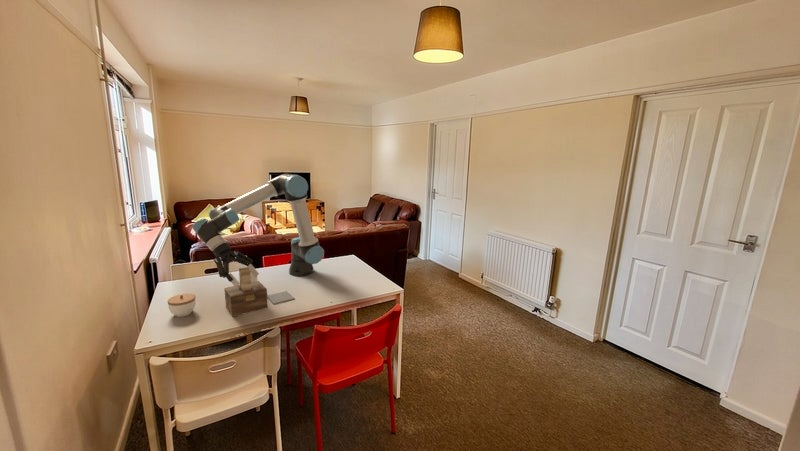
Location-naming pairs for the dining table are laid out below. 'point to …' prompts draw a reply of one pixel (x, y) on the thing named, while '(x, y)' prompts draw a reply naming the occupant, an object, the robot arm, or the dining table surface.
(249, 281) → the wooden block
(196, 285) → the dining table surface
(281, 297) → the mat
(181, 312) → the lidded jar
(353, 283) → the dining table surface
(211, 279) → the dining table surface
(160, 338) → the dining table surface
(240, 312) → the brown square frame
